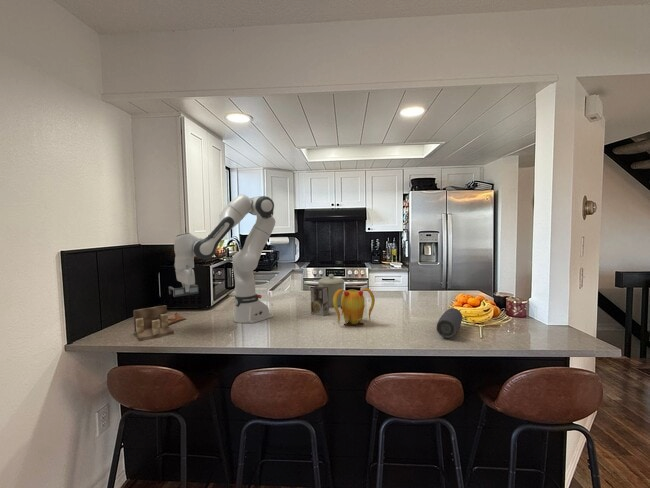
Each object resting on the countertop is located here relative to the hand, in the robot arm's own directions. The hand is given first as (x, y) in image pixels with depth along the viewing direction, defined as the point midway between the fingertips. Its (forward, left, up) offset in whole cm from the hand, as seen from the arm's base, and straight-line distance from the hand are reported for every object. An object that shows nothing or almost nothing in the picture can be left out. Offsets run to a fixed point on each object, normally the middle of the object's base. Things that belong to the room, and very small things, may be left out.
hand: (186, 291), depth 161 cm
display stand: (+15, -6, -20) cm, 26 cm away
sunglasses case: (+4, -20, -21) cm, 29 cm away
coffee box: (-69, +24, -20) cm, 76 cm away
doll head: (-70, +51, -20) cm, 89 cm away
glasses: (0, -4, -2) cm, 5 cm away
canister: (-87, +14, -20) cm, 90 cm away
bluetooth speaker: (-94, +93, -21) cm, 134 cm away
